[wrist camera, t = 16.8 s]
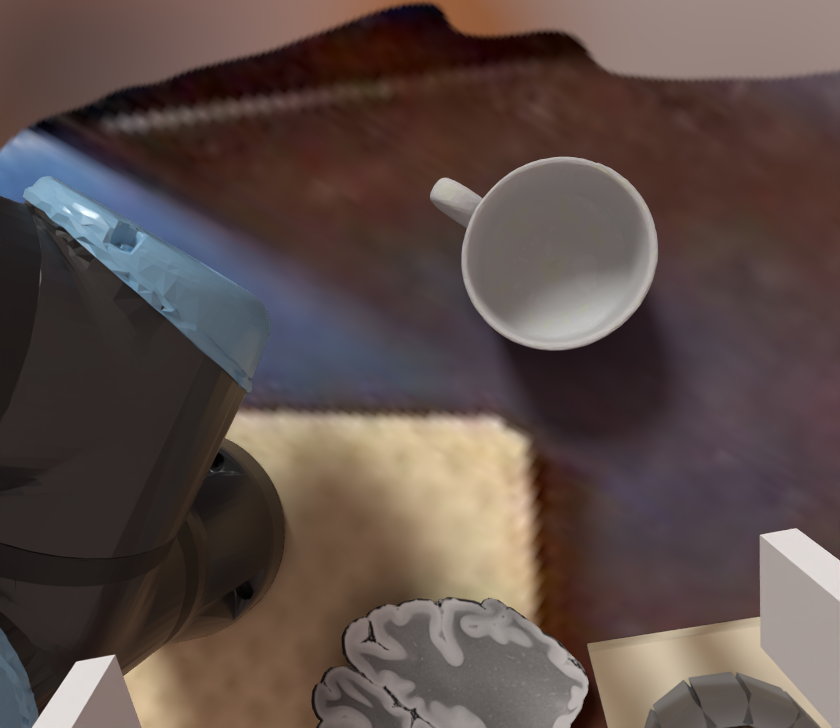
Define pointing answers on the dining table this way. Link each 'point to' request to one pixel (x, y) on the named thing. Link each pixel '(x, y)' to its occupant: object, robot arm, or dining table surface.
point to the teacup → (554, 251)
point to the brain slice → (450, 670)
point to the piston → (743, 727)
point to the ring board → (676, 660)
